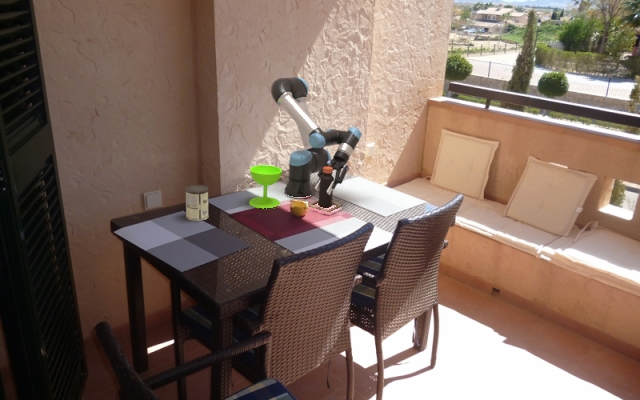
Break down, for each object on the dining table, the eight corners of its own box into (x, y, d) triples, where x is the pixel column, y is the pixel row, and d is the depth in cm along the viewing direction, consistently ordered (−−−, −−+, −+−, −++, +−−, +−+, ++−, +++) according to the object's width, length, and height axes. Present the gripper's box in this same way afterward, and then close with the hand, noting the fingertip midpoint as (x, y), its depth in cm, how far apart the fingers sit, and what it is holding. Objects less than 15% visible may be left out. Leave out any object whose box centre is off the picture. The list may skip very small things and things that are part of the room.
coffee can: (190, 211, 244) (189, 183, 239) (211, 214, 243) (211, 185, 238) (182, 219, 234) (182, 190, 229) (204, 222, 233) (204, 192, 229)
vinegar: (316, 203, 262) (319, 166, 255) (328, 202, 264) (331, 165, 257) (321, 208, 256) (324, 170, 249) (333, 207, 258) (337, 169, 251)
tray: (307, 209, 258) (307, 204, 258) (321, 202, 269) (321, 198, 268) (328, 215, 252) (329, 211, 251) (342, 209, 262) (342, 204, 262)
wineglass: (278, 210, 254) (280, 175, 248) (246, 207, 254) (247, 173, 248) (281, 199, 269) (283, 166, 263) (251, 197, 269) (252, 164, 263)
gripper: (361, 162, 259) (340, 200, 252) (329, 154, 269) (309, 190, 262) (357, 154, 253) (335, 192, 246) (325, 146, 263) (303, 183, 256)
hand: (322, 191), depth 254 cm, fingers closed on vinegar, 6 cm apart
